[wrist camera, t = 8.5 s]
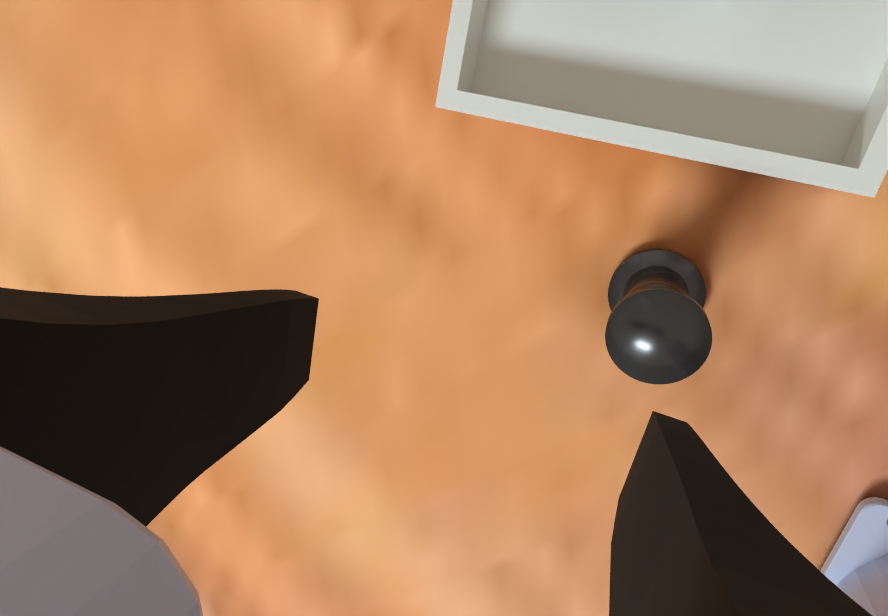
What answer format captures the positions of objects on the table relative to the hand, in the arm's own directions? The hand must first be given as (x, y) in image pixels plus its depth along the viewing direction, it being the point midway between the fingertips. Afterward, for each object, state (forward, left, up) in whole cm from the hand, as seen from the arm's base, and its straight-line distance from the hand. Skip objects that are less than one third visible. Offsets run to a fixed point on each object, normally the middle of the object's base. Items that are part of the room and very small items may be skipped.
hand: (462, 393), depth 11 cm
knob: (-4, -1, -9) cm, 10 cm away
